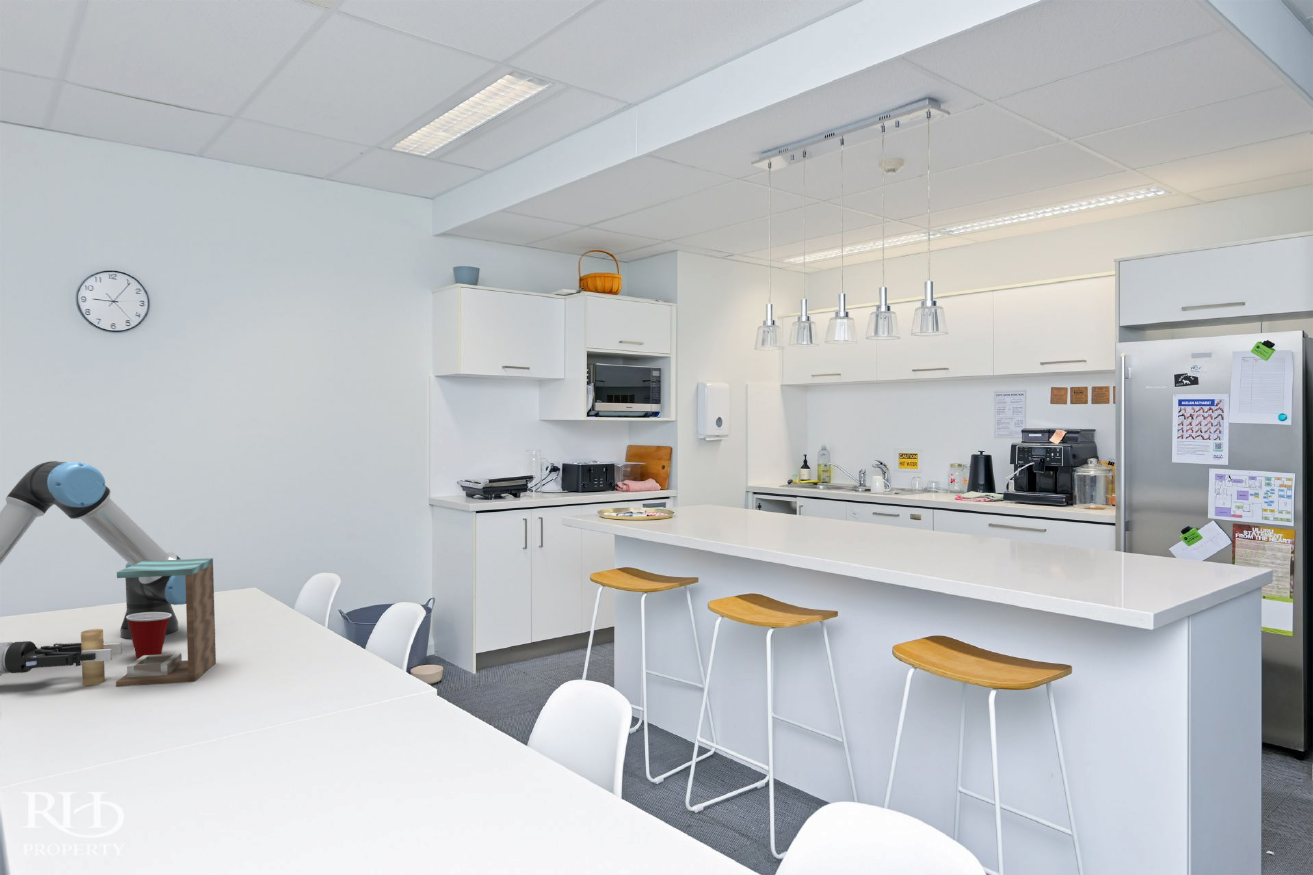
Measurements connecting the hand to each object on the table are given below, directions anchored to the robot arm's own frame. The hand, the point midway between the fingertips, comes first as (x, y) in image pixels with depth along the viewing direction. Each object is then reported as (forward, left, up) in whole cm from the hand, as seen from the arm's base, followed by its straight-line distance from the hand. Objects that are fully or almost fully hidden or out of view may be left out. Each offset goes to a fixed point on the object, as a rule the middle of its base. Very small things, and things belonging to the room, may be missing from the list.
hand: (116, 651), depth 204 cm
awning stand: (-3, +11, -8) cm, 13 cm away
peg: (0, -5, -8) cm, 9 cm away
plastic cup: (-20, 0, -8) cm, 21 cm away
